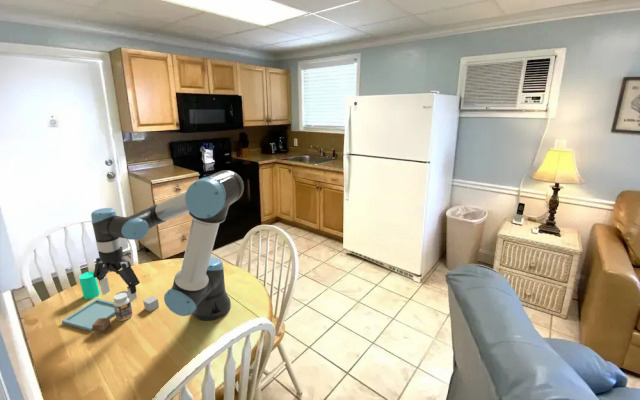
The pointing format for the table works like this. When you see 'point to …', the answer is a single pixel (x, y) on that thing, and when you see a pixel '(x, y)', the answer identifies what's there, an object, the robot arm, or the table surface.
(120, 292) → the dark grey stone
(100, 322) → the walnut block
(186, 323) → the table surface
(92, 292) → the candle
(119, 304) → the pill bottle
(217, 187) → the robot arm
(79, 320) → the tray
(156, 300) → the grey block
